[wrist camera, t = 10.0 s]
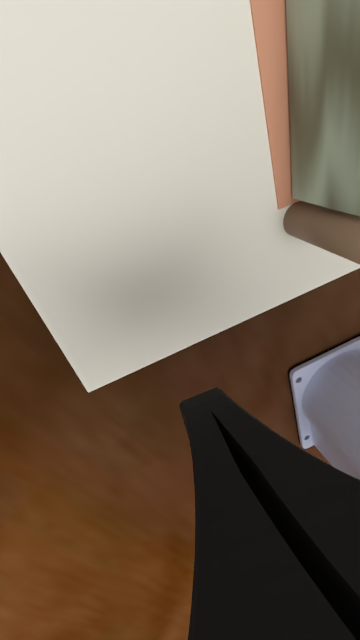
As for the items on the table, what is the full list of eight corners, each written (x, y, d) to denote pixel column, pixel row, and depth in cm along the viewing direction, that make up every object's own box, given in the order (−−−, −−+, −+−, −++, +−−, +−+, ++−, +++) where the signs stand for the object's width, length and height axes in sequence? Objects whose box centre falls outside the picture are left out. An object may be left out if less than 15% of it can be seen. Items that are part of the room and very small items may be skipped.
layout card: (473, 211, 24) (578, 230, 19) (87, 388, 21) (99, 466, 16) (550, -216, 14) (804, -394, 10) (-165, -18, 11) (-337, -139, 6)
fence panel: (311, 192, 19) (385, 209, 15) (289, 199, 19) (358, 218, 14) (310, -89, 13) (429, -190, 9) (278, -84, 13) (385, -186, 9)
